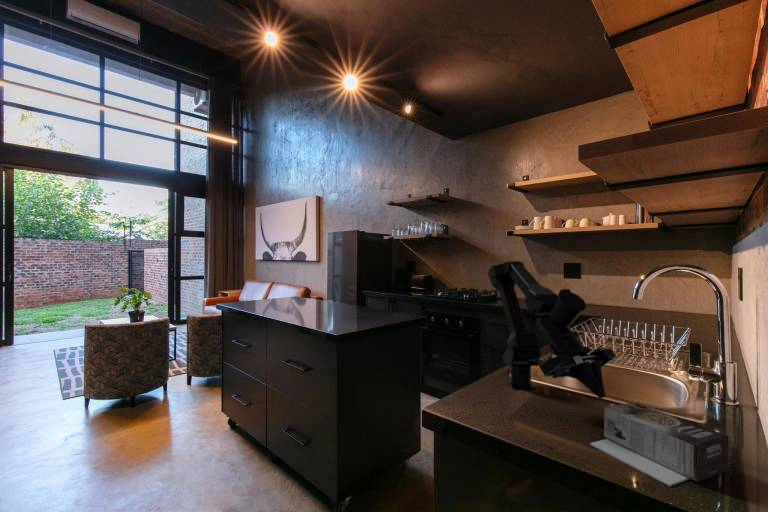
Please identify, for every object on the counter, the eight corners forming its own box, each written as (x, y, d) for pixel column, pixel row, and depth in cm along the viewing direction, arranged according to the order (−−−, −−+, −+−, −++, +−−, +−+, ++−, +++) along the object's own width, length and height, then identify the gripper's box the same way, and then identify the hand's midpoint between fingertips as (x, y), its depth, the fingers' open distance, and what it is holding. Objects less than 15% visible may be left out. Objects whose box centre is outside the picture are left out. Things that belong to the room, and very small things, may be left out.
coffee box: (632, 400, 75) (729, 434, 60) (632, 431, 75) (730, 472, 60) (603, 406, 72) (698, 443, 57) (603, 438, 71) (699, 484, 56)
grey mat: (590, 444, 69) (590, 443, 69) (636, 432, 75) (636, 431, 75) (670, 486, 56) (670, 484, 56) (719, 468, 62) (719, 466, 62)
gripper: (566, 349, 95) (605, 406, 84) (513, 355, 87) (548, 419, 77) (594, 326, 87) (641, 385, 77) (539, 330, 80) (582, 397, 70)
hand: (602, 397), depth 75 cm, fingers closed
